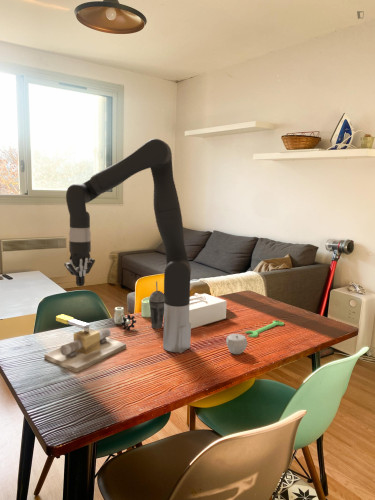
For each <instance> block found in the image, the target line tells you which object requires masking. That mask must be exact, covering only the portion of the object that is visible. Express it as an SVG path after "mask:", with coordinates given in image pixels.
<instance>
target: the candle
mask: <svg viewBox="0 0 375 500" xmlns="http://www.w3.org/2000/svg"><path fill="white" fill-rule="evenodd" d="M149 298H150V296H147V297H143V299H141V317H142V318H151V313H150V304H149Z"/></svg>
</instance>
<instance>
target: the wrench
mask: <svg viewBox="0 0 375 500" xmlns="http://www.w3.org/2000/svg"><path fill="white" fill-rule="evenodd" d="M284 325H285V323H284V322H283V321H281V320H272V323H270V324H268V325H265V326H263V327H260V328H258V329H256V330H246V331H245V332H244V333H245V334H248V337H250V338H257V337H258V336H259V334H260V333H262V332H264V331H267V330H269V329H272V328H274V327H276V326H284Z"/></svg>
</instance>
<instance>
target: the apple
mask: <svg viewBox="0 0 375 500" xmlns="http://www.w3.org/2000/svg"><path fill="white" fill-rule="evenodd" d="M225 343H226V346H227V349H228V350H229V353H231V354H232V355H240V354H242V353H244V351H245V350H246V349H247V346H248V339H247V338H246V336H245V335H243V334H239V333H231V334H229V335H227V337H226V339H225Z"/></svg>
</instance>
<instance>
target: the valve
mask: <svg viewBox="0 0 375 500" xmlns="http://www.w3.org/2000/svg"><path fill="white" fill-rule="evenodd" d="M124 309H125V308H124V307H122V306H117V307H115V308H114V315H113V318H114V324H116V325H121V326H122V329H123V330H127V331H130V330H131V328H135V325H134V324H136V323H137V320H136V319H135V318H136V317H135V315H130V314H126V315H125V313H124ZM126 316H127V317H126Z"/></svg>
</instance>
